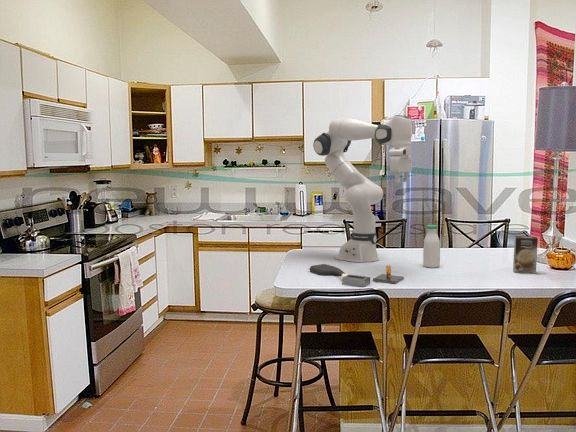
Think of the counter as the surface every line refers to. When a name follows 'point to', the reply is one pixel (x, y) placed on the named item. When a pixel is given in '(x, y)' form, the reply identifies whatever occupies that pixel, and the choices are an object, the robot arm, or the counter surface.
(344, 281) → the grey open tray
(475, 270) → the counter surface
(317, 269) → the drumstick
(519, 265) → the coffee box
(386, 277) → the keeper
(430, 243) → the milk bottle
